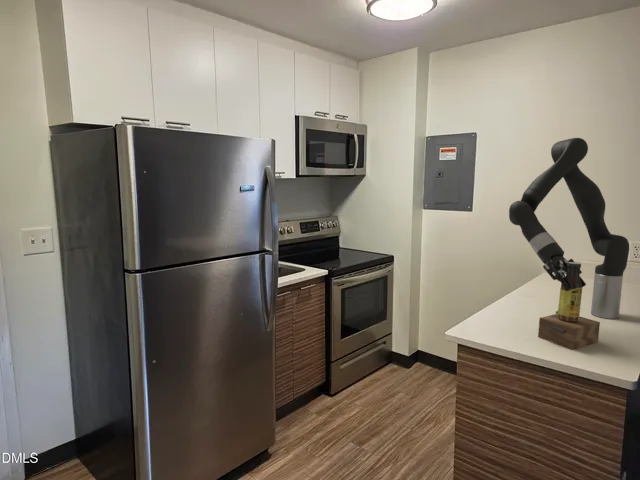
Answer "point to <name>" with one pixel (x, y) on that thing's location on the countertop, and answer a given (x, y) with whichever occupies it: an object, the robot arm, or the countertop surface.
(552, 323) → the walnut box
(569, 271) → the sauce bottle
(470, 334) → the countertop surface
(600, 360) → the countertop surface
